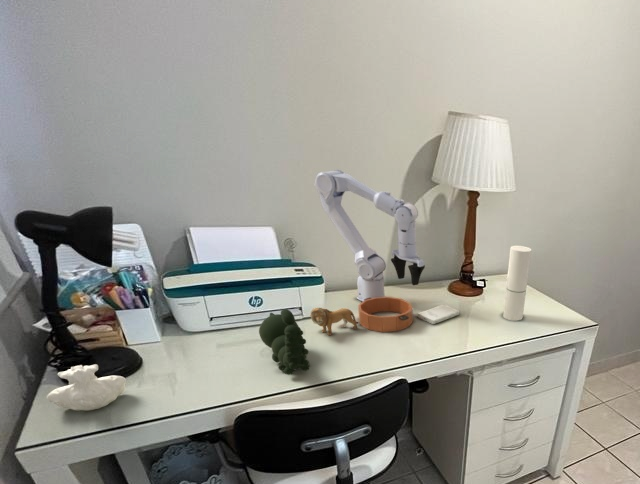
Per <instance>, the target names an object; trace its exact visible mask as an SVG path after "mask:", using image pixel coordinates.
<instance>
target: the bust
mask: <svg viewBox="0 0 640 484" xmlns="http://www.w3.org/2000/svg"><path fill="white" fill-rule="evenodd" d="M98 370H99V365H98V364H96V363H95V364H91V365H83V364H79V365H75V366H71V367H70V369H69V368H68V369H67V370H65V371H59V372H58V373H57V376H58V377H59V378H60V379H65V380H67V381H68V385H64V386H61V387H57V388H55V389H53V390H51V391H50V392H49V393H48V394H47V395H46V399H47V400H48V401H49V402H50V403H53V404H54V405H56V406H58V407H60V408H62V409H70V410H72V411H93V410H98V409H101V408H104V407H106V406H108V405H109V404H110V403H112V402H114V401H116V400H117V398H118V396H120V395H121V394H123V393H124V392H125V390H126V385H127V380H126V378H125V377H124V376H121V375H108V376H102V377H98V376H96V375H95V373H96V372H98Z"/></svg>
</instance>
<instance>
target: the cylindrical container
mask: <svg viewBox="0 0 640 484" xmlns="http://www.w3.org/2000/svg"><path fill="white" fill-rule="evenodd" d="M531 257H532V248H531V247H528V246H525V245H511V246H510V248H509V256H508V266H507V267H508V268H507V275H506V276H507V277H506V285H505V296H504V304H503V314H502V315H503V316H502V317H503V318H504V319H505V320H508V321H513V322H514V321H515V322H516V321H517V322H518V321H521V320H522V319H523V318H524V310H525V309H524V308H525V302H526V294H527V286H528V279H529V273H530V266H531V265H530V263H531Z"/></svg>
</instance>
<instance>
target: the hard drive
mask: <svg viewBox="0 0 640 484" xmlns="http://www.w3.org/2000/svg"><path fill="white" fill-rule="evenodd" d="M459 315H460V311H459V310H458V309H455V308H453V307H451V306H448V305H446V304H441V305H437V306H434V307H433V308H429V309H427V310H426V309H425V310H423V311H421V312H418V313H417V314H416V317H417V318H419V319H420V320H422V321H424V322H427V323H429V324H431V325H435V324H438V323H441V322H443V321H446V320H449V319H451V318H454V317H457V316H459Z"/></svg>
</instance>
